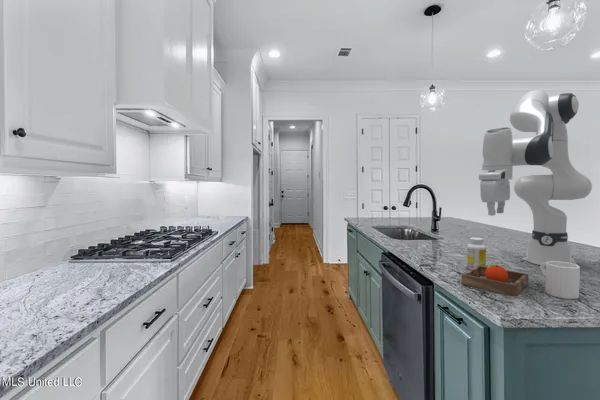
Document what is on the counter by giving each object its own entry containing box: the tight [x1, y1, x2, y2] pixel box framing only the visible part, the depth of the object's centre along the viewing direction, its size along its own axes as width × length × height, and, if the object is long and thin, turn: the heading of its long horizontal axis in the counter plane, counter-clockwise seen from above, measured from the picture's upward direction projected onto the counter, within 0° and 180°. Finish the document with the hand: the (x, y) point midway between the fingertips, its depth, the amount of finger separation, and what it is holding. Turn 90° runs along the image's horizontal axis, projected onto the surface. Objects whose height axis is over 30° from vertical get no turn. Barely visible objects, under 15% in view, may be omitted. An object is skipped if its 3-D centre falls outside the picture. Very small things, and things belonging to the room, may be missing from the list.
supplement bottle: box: [466, 237, 487, 270], centre depth 125 cm, size 7×7×13 cm
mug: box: [539, 261, 581, 300], centre depth 97 cm, size 8×12×10 cm, turn 4°
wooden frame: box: [461, 266, 529, 297], centre depth 106 cm, size 17×16×4 cm
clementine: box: [484, 264, 508, 283], centre depth 106 cm, size 8×7×7 cm
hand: (496, 214), depth 105 cm, fingers open, 8 cm apart
